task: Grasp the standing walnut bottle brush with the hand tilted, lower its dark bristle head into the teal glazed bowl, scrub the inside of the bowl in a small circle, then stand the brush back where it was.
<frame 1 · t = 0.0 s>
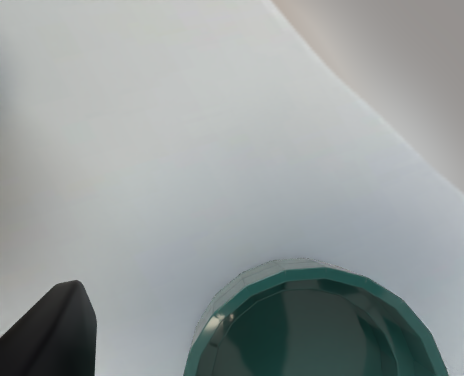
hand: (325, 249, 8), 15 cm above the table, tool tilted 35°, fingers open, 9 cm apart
bowl: (295, 365, 22), on the table
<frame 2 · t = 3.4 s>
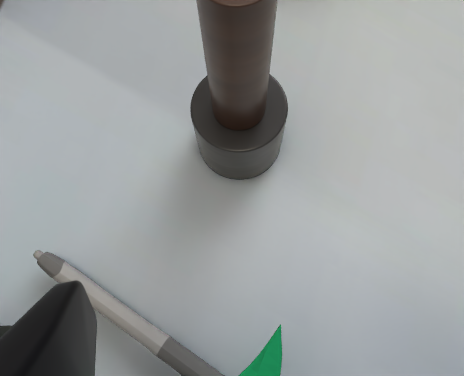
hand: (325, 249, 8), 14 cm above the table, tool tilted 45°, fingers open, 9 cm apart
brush: (239, 140, 23), on the table
pen: (156, 336, 20), on the table, touching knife
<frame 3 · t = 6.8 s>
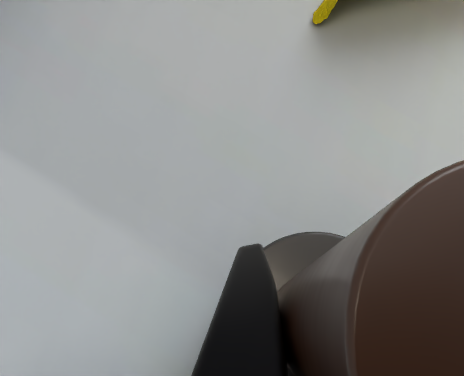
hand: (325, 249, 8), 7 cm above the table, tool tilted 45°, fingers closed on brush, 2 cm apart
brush: (298, 321, 14), on the table, touching gripper
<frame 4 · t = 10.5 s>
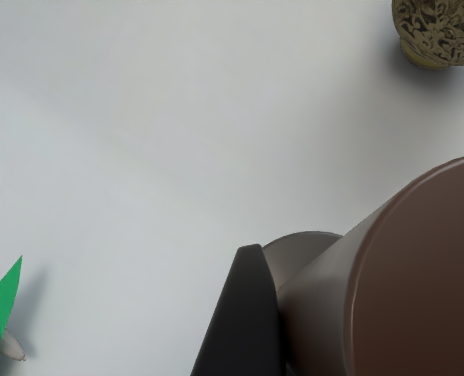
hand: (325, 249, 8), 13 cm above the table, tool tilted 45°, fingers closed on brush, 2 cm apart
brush: (297, 321, 14), point 7 cm above the table, touching gripper
cup: (426, 49, 25), on the table
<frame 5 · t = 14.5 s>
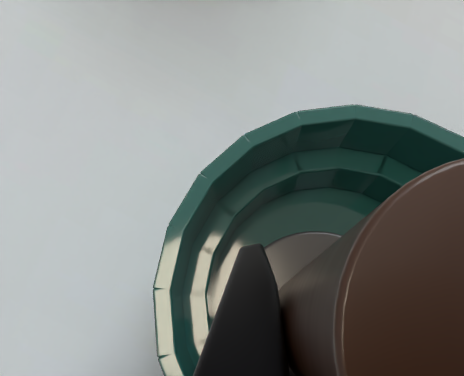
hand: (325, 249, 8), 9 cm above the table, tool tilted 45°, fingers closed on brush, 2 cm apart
bowl: (327, 302, 16), on the table
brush: (300, 320, 14), point 2 cm above the table, touching gripper
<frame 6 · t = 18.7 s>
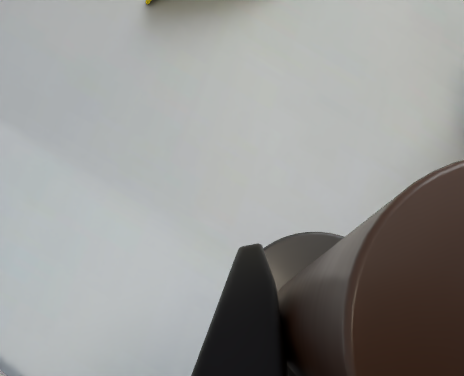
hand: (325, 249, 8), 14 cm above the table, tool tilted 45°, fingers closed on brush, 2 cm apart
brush: (298, 321, 14), point 7 cm above the table, touching gripper
when the fingers open (7 cm above the table, at t = 22.2 s): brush stays where it is, on the table.
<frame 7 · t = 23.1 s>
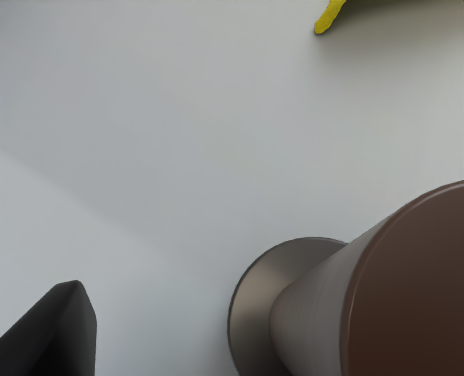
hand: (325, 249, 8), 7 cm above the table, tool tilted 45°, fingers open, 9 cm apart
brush: (298, 324, 14), on the table
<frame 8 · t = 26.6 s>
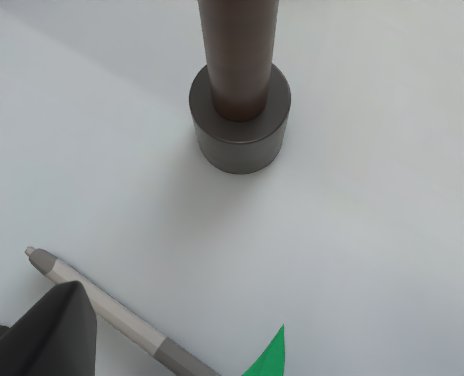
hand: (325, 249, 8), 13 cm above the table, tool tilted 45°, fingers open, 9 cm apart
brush: (240, 134, 22), on the table
pen: (153, 337, 20), on the table, touching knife
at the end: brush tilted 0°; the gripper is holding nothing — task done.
